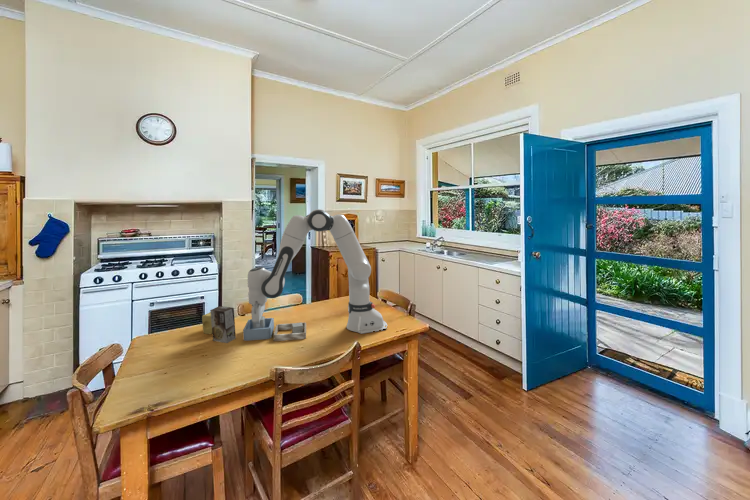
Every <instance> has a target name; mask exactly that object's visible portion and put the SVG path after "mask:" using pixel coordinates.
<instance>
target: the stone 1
mask: <svg viewBox="0 0 750 500" xmlns="http://www.w3.org/2000/svg"><path fill="white" fill-rule="evenodd" d="M265 318H266V317H265V316H264V315H262V317H261V320H260V327H256V323H253V329H257V328H264V327H265Z"/></svg>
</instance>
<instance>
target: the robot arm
mask: <svg viewBox="0 0 750 500" xmlns="http://www.w3.org/2000/svg"><path fill="white" fill-rule="evenodd" d="M311 231H314V232H327V231H329V232H330V234H331V235H332V238H333V240H334V243H335V244H336V246H337V249H338V250H339V253H340V255H341V257H342V258H343V261H344V263H345V265H346V267H347V276H348V294H349V295H348V299H349V301H348V305H347V309H348V318H347V324H346V329H347V330H348V331H352V332H356V333H359V334H367V333H374V332H373V331H375V332H380V331H379V330H381V331H384V330H383V329H386V328H387V326H388V324H387V322H386V321H385V320H384V318H383V315H382V313H380V311H378V310H377V309H375V308H376V305H375V303H373V302H372V301H371V300H370V283H369V281H370V280H369V278H370V276H371V274H372V266H371V264H370V262H369V259H368V258H367V256H366V253H365V252H364V250H363V248H362V246H361V244H360V242H359V239H358V237H357V235H356V233H355V231H354V229H353V227H352V225H351V223H350V222H349V220H348V219H347V218H346V216H345V215H344V214H339V213H338V214H335V215H330V214H329V213H328V212H326V210H324V209H322V208H321V209H320V208H317V209H313V210H312V211H311V212H310V213H308V214H307V215H306V216H303V215H300V214H296V215H293V216H292V217H291V218H290V220H289V222H288V223H287V224H286V227H285V228H284V231H283V234H282V236H281V239H280V245H279V250H278V255H277V259H276V262H275V263H274V266H273V269H272V270H271V271H270V270H269V269H266V268H265V267H263V266H258V267H253V268H251V269H250V270H249V271H248V273H247V287H248V295H247V297H248V304H250V305H251V319H252V322H253V323H256V327H260V320H261V317H262V316H264V315H263V314H264V312H265V311H266V303H267V302H268V299H275V298H278V297H280V296H282V294H283V290H284V287H285V283H286V278H285V275H286V273H287V271H288V269H289V266H290V264H291V262H292V261H293V259H294V258H295V257H296V255H297V254H298V253H299V251H300V250H301V248H302V247H303V245H304V243H305V240H306V238H307V235H308V234H309V232H311ZM385 326H386V327H385ZM387 329H388V328H387ZM387 329H386V330H387Z"/></svg>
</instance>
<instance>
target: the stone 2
mask: <svg viewBox="0 0 750 500" xmlns="http://www.w3.org/2000/svg"><path fill="white" fill-rule="evenodd" d="M302 323H303V322H296V323H295V322H292V329H291V330H292V331H291V332H292V333H304V328H303V324H302Z"/></svg>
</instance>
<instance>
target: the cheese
mask: <svg viewBox="0 0 750 500" xmlns="http://www.w3.org/2000/svg"><path fill="white" fill-rule="evenodd" d="M201 317H202V318H201V319H202V320H201V321H202V332H203V334H206V335H213V334H212V323H211V313H210V312H208V313H205V314H203V315H202V316H201Z"/></svg>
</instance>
